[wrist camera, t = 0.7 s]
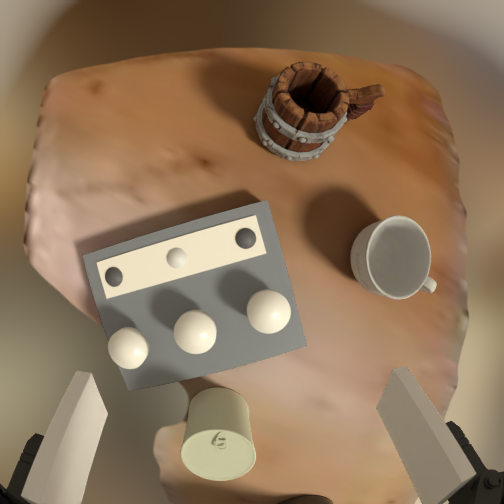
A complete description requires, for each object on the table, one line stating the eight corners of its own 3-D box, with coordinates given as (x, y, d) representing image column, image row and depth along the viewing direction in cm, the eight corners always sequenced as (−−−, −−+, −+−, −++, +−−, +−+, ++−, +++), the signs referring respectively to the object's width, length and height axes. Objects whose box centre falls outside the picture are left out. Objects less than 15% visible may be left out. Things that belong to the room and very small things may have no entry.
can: (253, 390, 41) (263, 434, 29) (244, 437, 41) (250, 486, 29) (191, 382, 40) (181, 425, 28) (186, 430, 40) (178, 478, 28)
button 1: (291, 322, 36) (295, 326, 34) (253, 334, 36) (254, 338, 34) (281, 284, 36) (284, 286, 34) (241, 296, 36) (242, 298, 34)
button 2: (154, 359, 35) (151, 365, 33) (121, 366, 34) (116, 372, 32) (141, 323, 35) (137, 327, 33) (108, 331, 34) (102, 335, 32)
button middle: (221, 343, 36) (221, 348, 34) (183, 352, 35) (181, 358, 33) (209, 305, 35) (208, 308, 33) (170, 315, 35) (167, 319, 33)
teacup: (328, 257, 42) (350, 259, 34) (373, 205, 43) (400, 197, 35) (385, 318, 43) (412, 330, 35) (423, 268, 43) (454, 270, 36)
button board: (301, 339, 42) (307, 346, 38) (134, 382, 39) (128, 391, 36) (264, 203, 41) (267, 199, 38) (91, 255, 39) (81, 255, 36)
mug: (241, 96, 40) (273, 34, 26) (324, 99, 44) (375, 52, 30) (253, 167, 41) (295, 124, 26) (340, 163, 44) (402, 131, 30)
